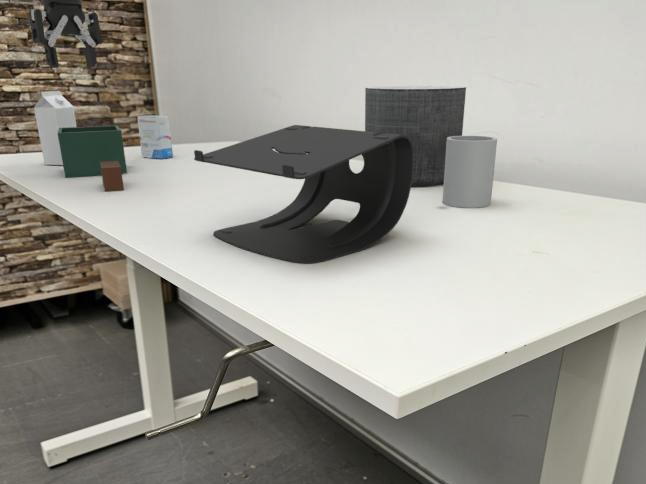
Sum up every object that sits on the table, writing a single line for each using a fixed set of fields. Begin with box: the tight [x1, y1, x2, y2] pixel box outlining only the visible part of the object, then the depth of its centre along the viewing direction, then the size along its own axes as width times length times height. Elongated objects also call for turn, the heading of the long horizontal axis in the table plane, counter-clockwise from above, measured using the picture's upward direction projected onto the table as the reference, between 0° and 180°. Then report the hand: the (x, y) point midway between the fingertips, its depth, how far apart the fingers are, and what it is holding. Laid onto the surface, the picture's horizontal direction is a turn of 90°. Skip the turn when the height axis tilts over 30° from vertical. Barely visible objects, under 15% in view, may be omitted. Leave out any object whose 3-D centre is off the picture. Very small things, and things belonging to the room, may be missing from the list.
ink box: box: [136, 115, 174, 160], centre depth 178 cm, size 9×5×12 cm, turn 59°
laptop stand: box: [193, 124, 413, 264], centre depth 93 cm, size 26×24×16 cm
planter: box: [364, 84, 467, 188], centre depth 138 cm, size 22×22×20 cm
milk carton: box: [33, 90, 78, 166], centre depth 166 cm, size 7×7×19 cm
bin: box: [58, 125, 128, 179], centre depth 155 cm, size 15×15×10 cm
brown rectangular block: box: [100, 161, 125, 192], centre depth 135 cm, size 4×10×5 cm, turn 21°
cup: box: [442, 135, 498, 209], centre depth 115 cm, size 9×9×12 cm
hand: (73, 67), depth 125 cm, fingers open, 8 cm apart
